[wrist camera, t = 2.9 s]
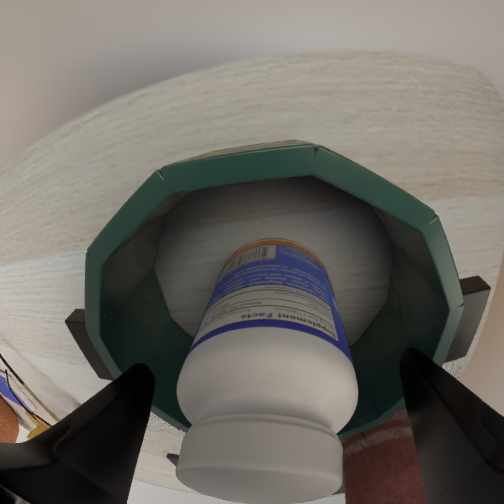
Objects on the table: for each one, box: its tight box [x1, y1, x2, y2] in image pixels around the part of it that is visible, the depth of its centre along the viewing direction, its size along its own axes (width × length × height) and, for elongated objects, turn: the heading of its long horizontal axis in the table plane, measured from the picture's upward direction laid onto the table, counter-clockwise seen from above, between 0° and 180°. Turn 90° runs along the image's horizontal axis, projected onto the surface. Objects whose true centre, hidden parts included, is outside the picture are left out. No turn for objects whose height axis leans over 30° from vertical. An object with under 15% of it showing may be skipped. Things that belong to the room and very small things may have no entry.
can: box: [341, 406, 427, 504], centre depth 11 cm, size 6×6×14 cm
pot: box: [65, 140, 491, 440], centre depth 11 cm, size 17×13×6 cm
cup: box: [26, 412, 50, 440], centre depth 31 cm, size 12×12×5 cm
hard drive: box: [0, 371, 36, 412], centre depth 27 cm, size 2×8×12 cm
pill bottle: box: [176, 239, 358, 504], centre depth 9 cm, size 5×5×10 cm
